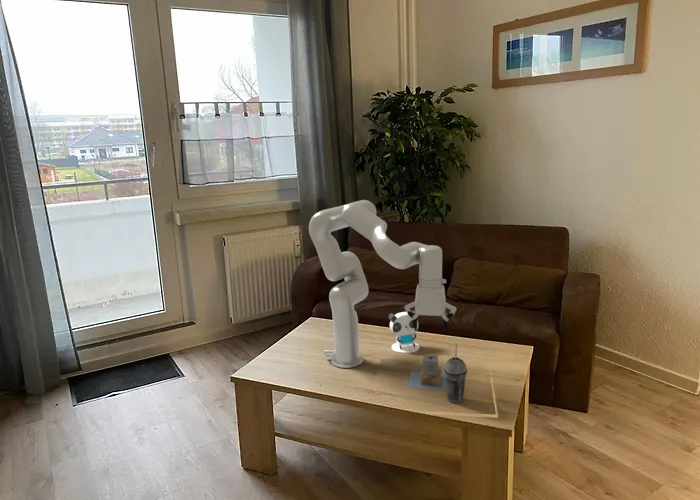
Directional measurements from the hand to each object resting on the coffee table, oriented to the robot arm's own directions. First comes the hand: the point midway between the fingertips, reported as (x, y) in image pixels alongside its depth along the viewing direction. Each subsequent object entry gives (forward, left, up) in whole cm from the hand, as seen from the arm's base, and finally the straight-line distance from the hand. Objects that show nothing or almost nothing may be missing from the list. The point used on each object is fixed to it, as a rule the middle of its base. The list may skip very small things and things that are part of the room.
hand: (430, 330), depth 181 cm
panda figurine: (-12, +30, -20) cm, 38 cm away
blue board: (0, 0, -20) cm, 20 cm away
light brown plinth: (0, 0, -19) cm, 19 cm away
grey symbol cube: (0, -1, -15) cm, 15 cm away
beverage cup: (+8, -13, -20) cm, 25 cm away
